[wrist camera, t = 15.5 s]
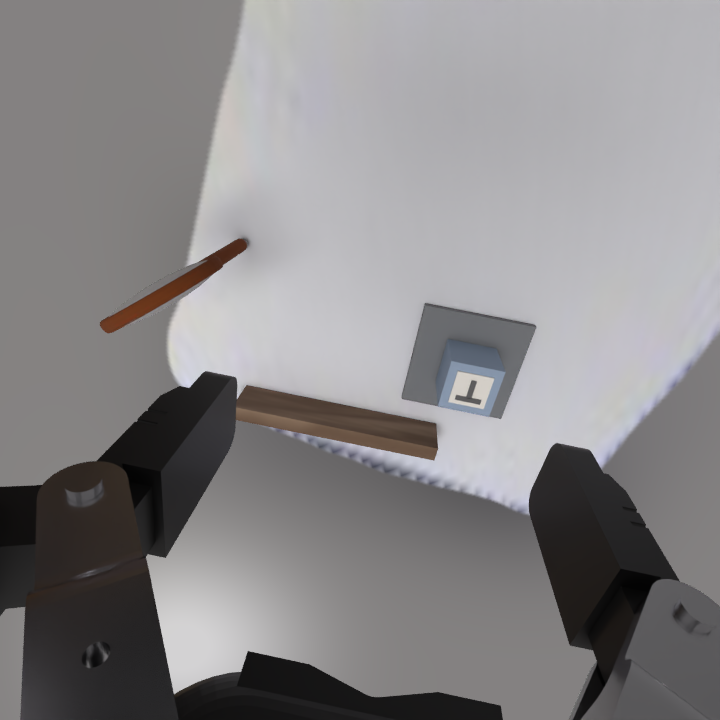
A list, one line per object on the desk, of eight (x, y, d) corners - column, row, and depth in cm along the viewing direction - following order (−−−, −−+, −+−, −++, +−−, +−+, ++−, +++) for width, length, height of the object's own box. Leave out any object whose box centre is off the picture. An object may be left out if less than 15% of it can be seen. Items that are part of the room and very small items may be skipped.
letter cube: (447, 338, 45) (451, 362, 40) (496, 348, 45) (506, 373, 40) (435, 381, 47) (438, 407, 42) (482, 390, 47) (489, 418, 42)
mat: (425, 303, 44) (425, 305, 43) (534, 324, 44) (536, 327, 43) (401, 395, 49) (401, 398, 48) (500, 415, 49) (501, 418, 48)
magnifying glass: (214, 269, 45) (83, 356, 27) (204, 254, 44) (64, 333, 26) (285, 230, 42) (192, 299, 25) (276, 213, 42) (174, 271, 24)
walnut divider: (246, 385, 51) (232, 406, 47) (436, 423, 50) (437, 448, 46) (245, 397, 51) (231, 419, 47) (432, 434, 51) (434, 460, 47)
